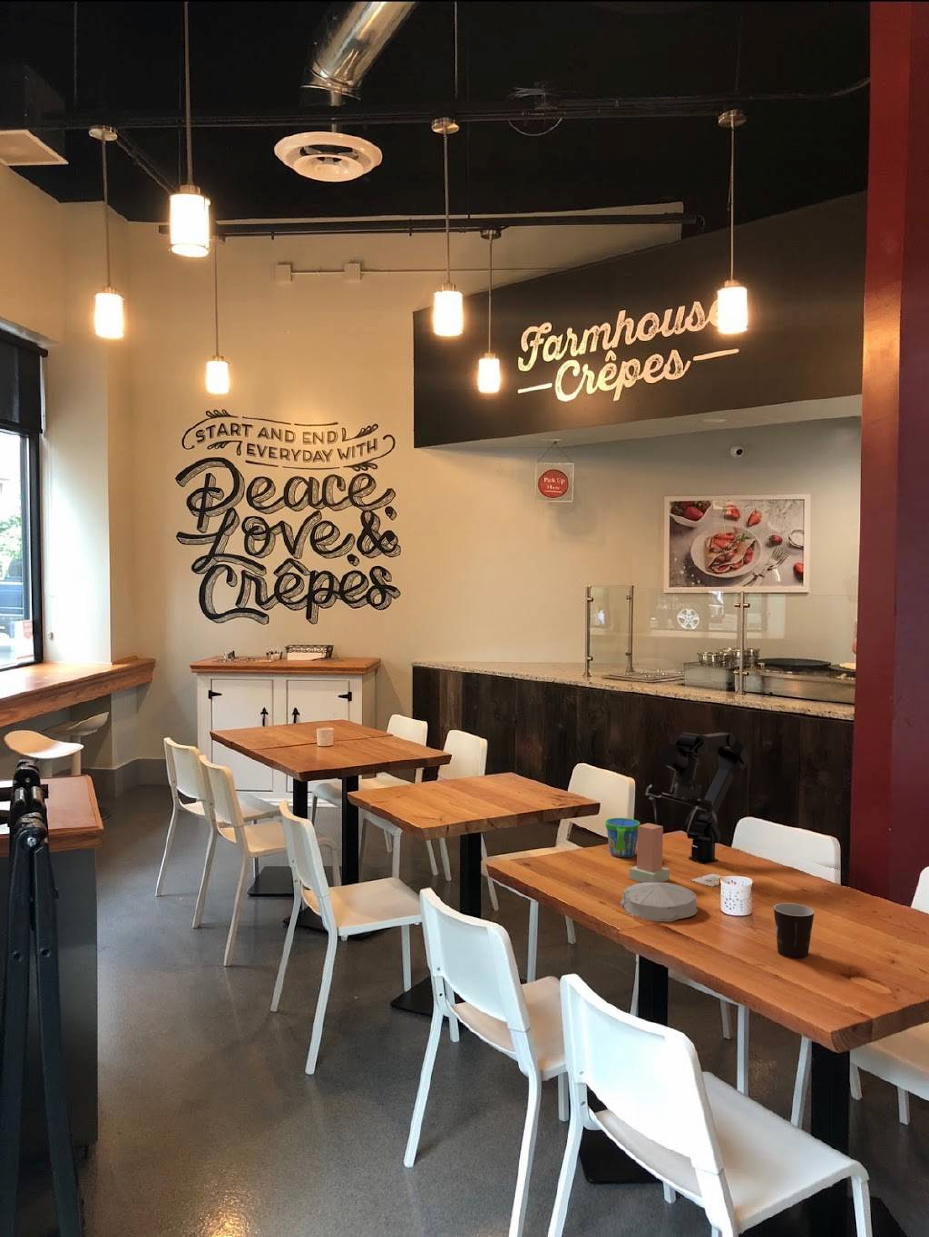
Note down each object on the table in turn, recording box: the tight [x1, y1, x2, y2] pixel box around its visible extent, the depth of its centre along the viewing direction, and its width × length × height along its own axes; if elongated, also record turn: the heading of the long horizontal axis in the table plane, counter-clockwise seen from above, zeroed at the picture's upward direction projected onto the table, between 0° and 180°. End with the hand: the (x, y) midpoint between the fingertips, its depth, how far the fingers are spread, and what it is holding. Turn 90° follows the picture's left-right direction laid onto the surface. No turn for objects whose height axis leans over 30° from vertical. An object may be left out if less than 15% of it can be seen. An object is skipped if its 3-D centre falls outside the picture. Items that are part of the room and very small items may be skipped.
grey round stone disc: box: [620, 882, 699, 922], centre depth 245 cm, size 20×20×7 cm
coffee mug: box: [773, 902, 815, 960], centre depth 215 cm, size 12×9×10 cm
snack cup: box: [605, 817, 641, 858], centre depth 294 cm, size 16×10×10 cm
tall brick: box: [636, 822, 664, 872], centre depth 269 cm, size 5×5×12 cm
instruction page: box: [691, 873, 724, 888], centre depth 269 cm, size 10×7×1 cm
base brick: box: [628, 865, 671, 883], centre depth 269 cm, size 8×8×3 cm
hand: (672, 827), depth 276 cm, fingers open, 9 cm apart
